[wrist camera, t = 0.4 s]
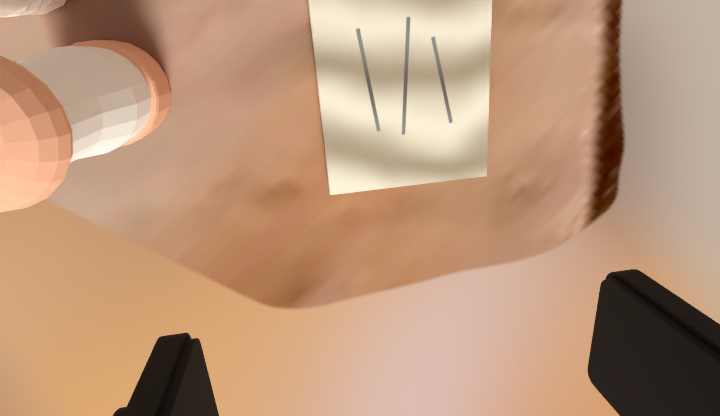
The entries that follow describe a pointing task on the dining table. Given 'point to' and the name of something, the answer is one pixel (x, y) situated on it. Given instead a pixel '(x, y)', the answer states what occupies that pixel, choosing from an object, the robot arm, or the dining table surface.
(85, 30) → the dining table surface
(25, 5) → the white cup
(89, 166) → the dining table surface
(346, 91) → the board
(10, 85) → the pepper shaker
